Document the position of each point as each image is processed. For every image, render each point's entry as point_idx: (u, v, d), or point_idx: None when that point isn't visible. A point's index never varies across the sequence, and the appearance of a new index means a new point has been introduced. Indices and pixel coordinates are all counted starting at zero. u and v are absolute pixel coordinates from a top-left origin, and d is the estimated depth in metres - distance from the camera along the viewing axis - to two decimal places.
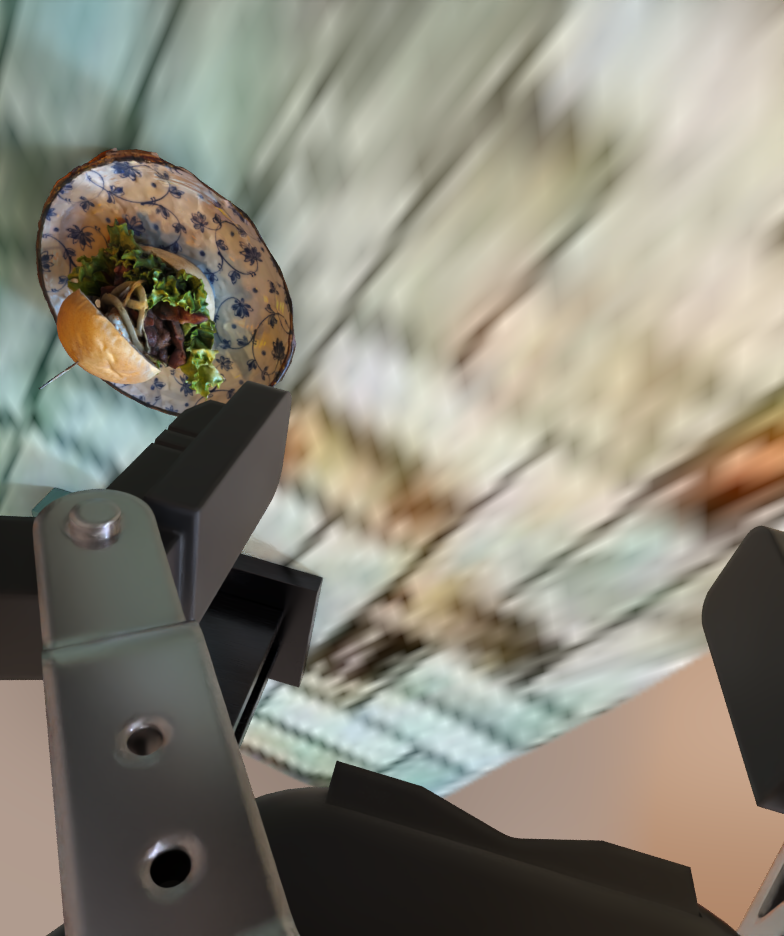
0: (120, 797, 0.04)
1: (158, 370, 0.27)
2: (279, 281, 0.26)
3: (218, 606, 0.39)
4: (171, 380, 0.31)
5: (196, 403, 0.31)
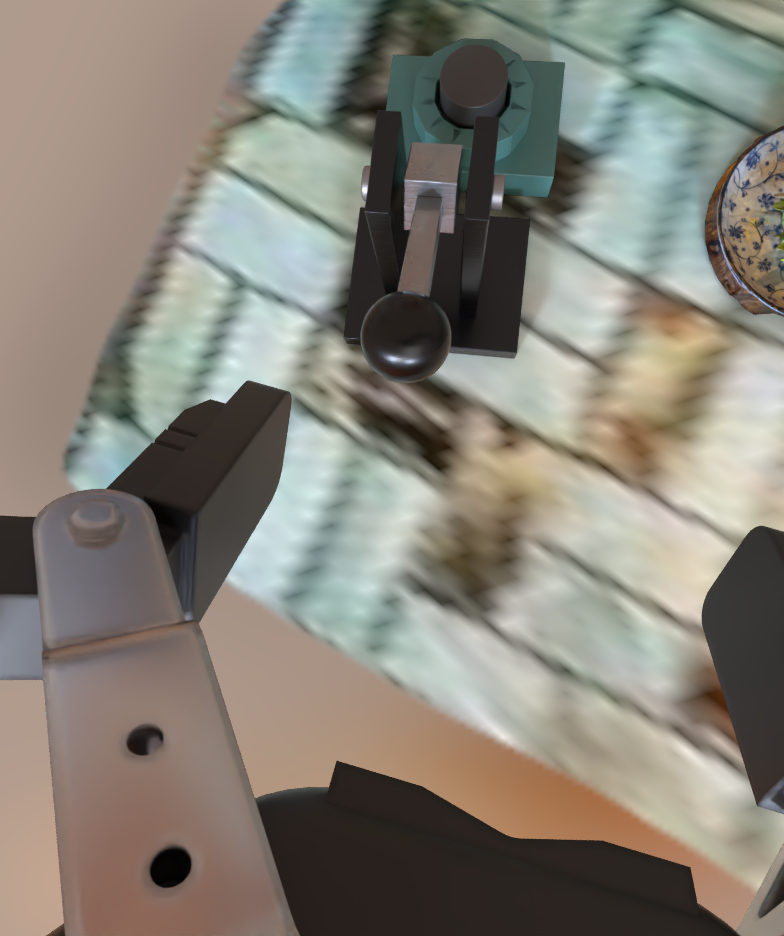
0: (120, 797, 0.04)
1: None
2: None
3: None
4: (736, 218, 0.37)
5: (727, 239, 0.36)
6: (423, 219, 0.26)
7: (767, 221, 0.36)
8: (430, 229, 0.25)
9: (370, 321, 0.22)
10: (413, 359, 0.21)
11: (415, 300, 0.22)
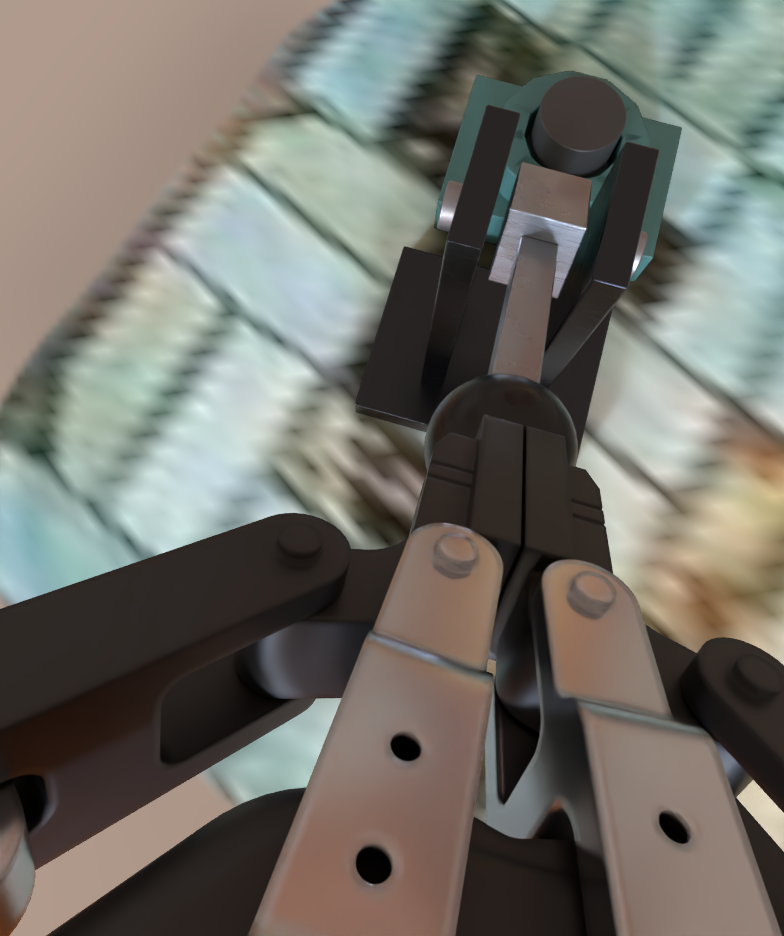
0: (365, 778, 0.05)
1: None
2: None
3: None
4: None
5: None
6: (532, 269, 0.17)
7: None
8: (542, 286, 0.17)
9: (454, 416, 0.13)
10: None
11: (536, 396, 0.13)
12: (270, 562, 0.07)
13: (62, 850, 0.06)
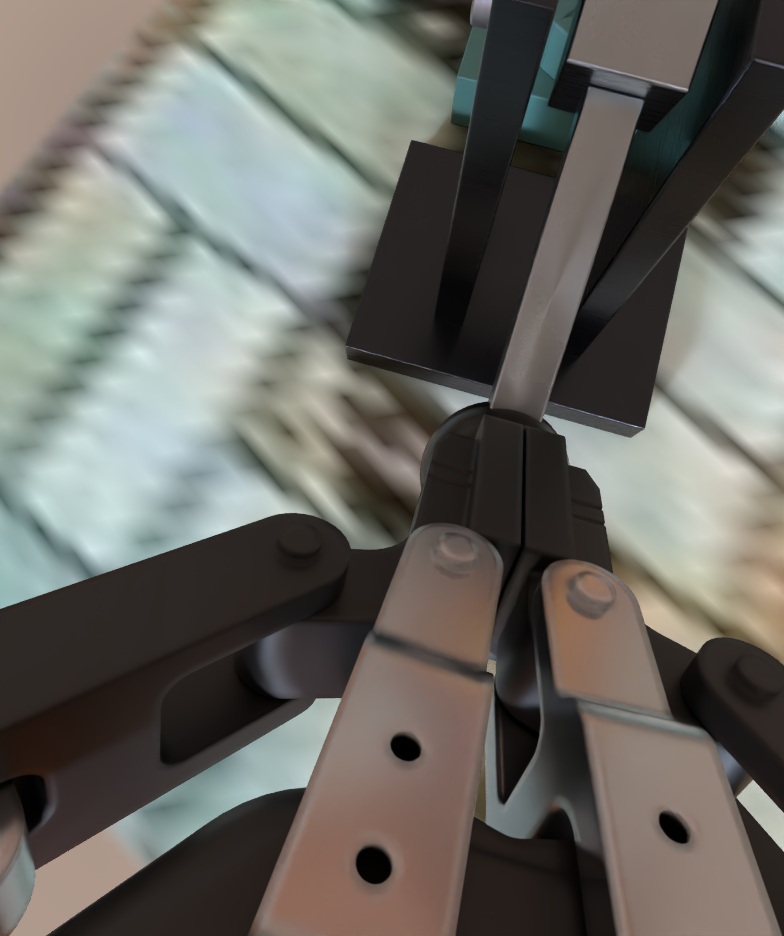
0: (366, 778, 0.05)
1: None
2: None
3: None
4: None
5: None
6: (585, 177, 0.12)
7: None
8: (592, 215, 0.12)
9: None
10: None
11: None
12: (270, 562, 0.07)
13: (62, 850, 0.06)
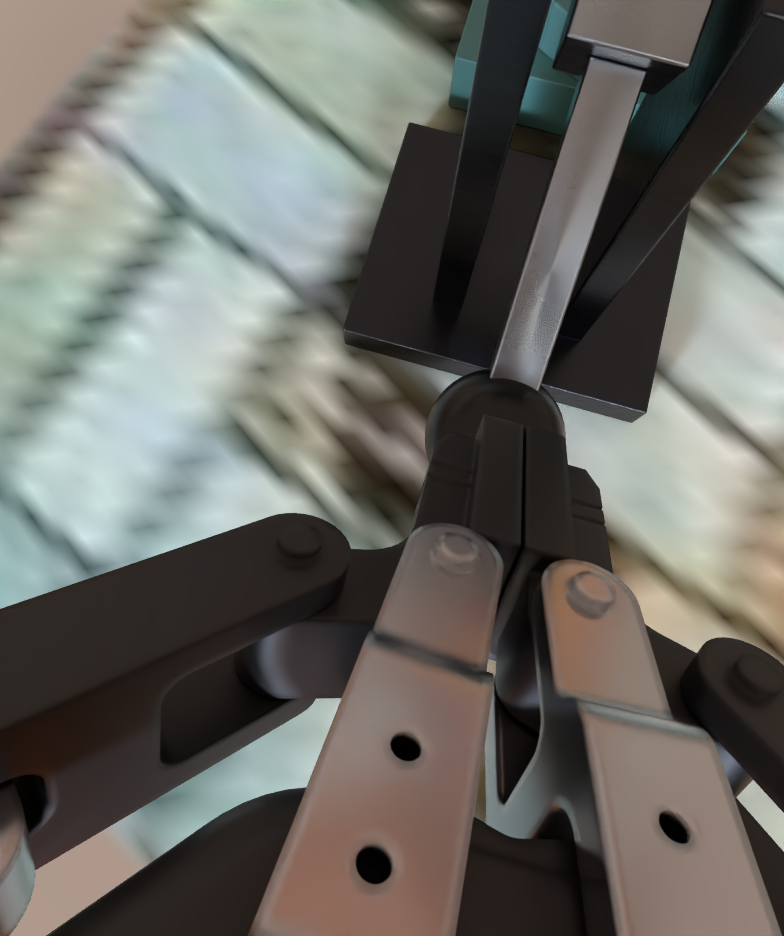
0: (366, 778, 0.05)
1: None
2: None
3: None
4: None
5: None
6: (585, 152, 0.12)
7: None
8: (590, 191, 0.12)
9: None
10: None
11: None
12: (270, 562, 0.07)
13: (63, 851, 0.06)
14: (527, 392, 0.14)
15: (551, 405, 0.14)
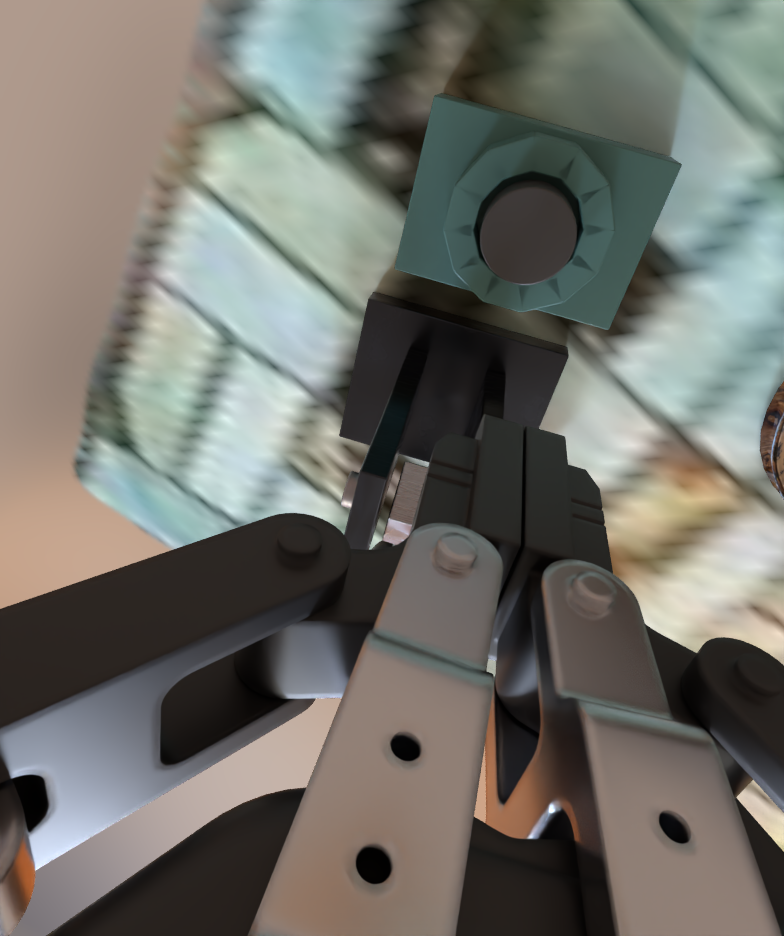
0: (365, 778, 0.05)
1: None
2: None
3: None
4: None
5: None
6: None
7: None
8: None
9: None
10: None
11: None
12: (270, 562, 0.07)
13: (62, 850, 0.06)
14: None
15: None
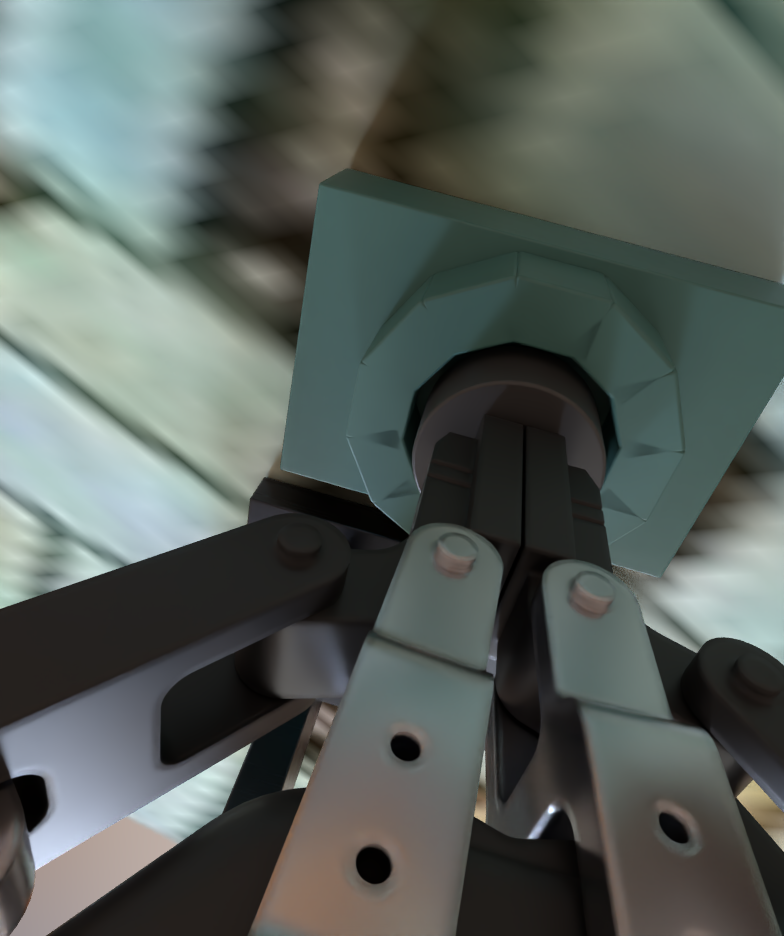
0: (365, 778, 0.05)
1: None
2: None
3: None
4: None
5: None
6: None
7: None
8: None
9: None
10: None
11: None
12: (270, 562, 0.07)
13: (63, 850, 0.06)
14: None
15: None
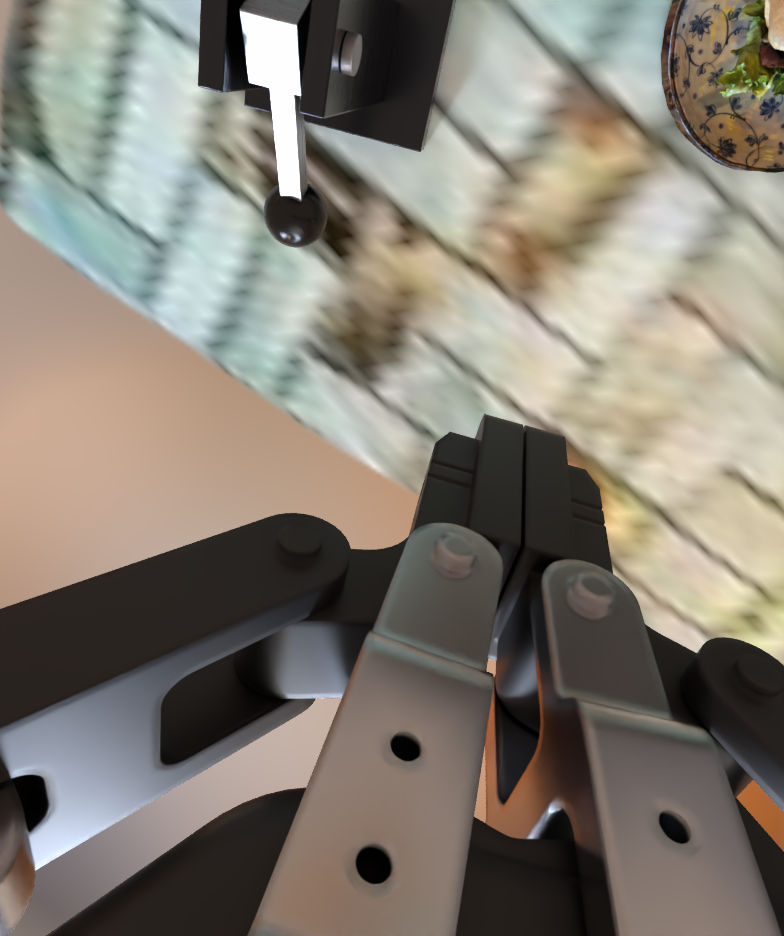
0: (365, 778, 0.05)
1: (779, 48, 0.27)
2: None
3: (393, 17, 0.31)
4: (707, 4, 0.30)
5: (682, 38, 0.30)
6: (281, 113, 0.27)
7: (743, 14, 0.30)
8: (290, 128, 0.28)
9: (268, 229, 0.33)
10: None
11: (291, 234, 0.32)
12: (270, 562, 0.07)
13: (62, 850, 0.06)
14: (295, 205, 0.31)
15: (308, 208, 0.32)
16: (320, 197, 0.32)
